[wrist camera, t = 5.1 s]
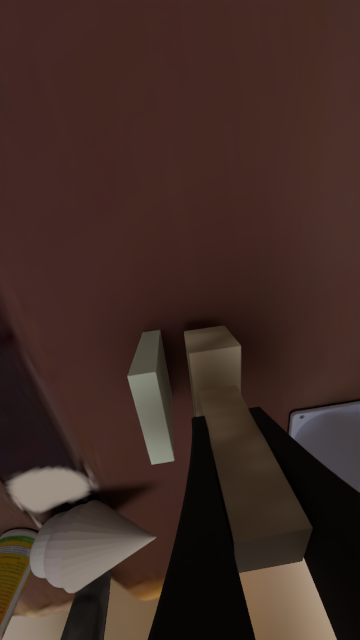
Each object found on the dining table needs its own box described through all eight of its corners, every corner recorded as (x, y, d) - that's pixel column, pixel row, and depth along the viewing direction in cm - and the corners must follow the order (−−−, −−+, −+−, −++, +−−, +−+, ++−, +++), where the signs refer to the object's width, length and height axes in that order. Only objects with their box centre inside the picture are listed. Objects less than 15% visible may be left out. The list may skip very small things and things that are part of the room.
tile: (160, 329, 15) (155, 371, 9) (171, 394, 17) (174, 460, 11) (142, 332, 15) (127, 376, 9) (156, 396, 17) (151, 464, 11)
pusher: (224, 325, 12) (343, 469, 4) (227, 406, 15) (299, 587, 7) (183, 331, 12) (220, 490, 4) (194, 411, 15) (227, 601, 7)
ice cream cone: (165, 484, 21) (68, 495, 24) (138, 508, 16) (20, 518, 19) (172, 563, 18) (60, 564, 21) (142, 624, 13) (-1, 613, 16)
